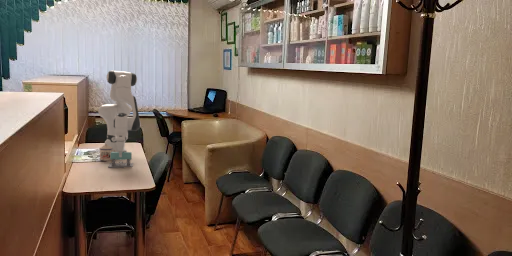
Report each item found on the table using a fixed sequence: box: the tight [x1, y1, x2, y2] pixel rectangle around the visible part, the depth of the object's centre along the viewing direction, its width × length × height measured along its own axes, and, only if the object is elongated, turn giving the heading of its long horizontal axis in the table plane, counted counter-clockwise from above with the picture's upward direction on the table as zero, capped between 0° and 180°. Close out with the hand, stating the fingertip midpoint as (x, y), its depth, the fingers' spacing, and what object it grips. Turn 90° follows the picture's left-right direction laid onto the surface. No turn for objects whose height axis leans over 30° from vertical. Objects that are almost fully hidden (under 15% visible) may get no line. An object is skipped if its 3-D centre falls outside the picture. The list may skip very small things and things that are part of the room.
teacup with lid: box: [99, 143, 116, 162], centre depth 311 cm, size 12×9×12 cm
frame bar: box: [110, 151, 133, 161], centre depth 293 cm, size 2×14×5 cm, turn 103°
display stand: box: [108, 159, 134, 169], centre depth 294 cm, size 10×16×6 cm, turn 104°
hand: (121, 155), depth 293 cm, fingers open, 8 cm apart
